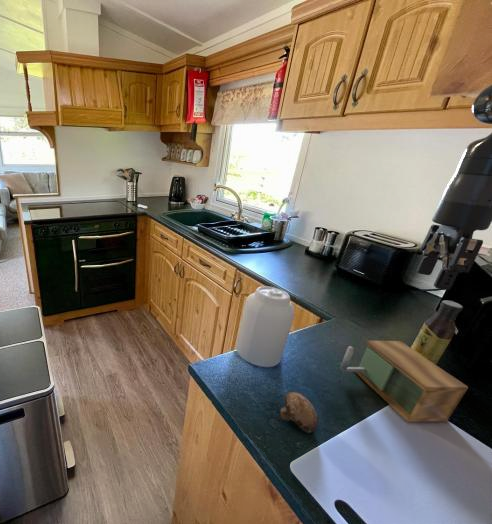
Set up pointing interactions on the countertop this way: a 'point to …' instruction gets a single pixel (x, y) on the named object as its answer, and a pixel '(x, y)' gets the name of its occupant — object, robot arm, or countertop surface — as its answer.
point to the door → (370, 367)
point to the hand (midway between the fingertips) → (431, 280)
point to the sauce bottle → (437, 332)
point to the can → (265, 326)
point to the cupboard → (416, 384)
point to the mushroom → (299, 412)
